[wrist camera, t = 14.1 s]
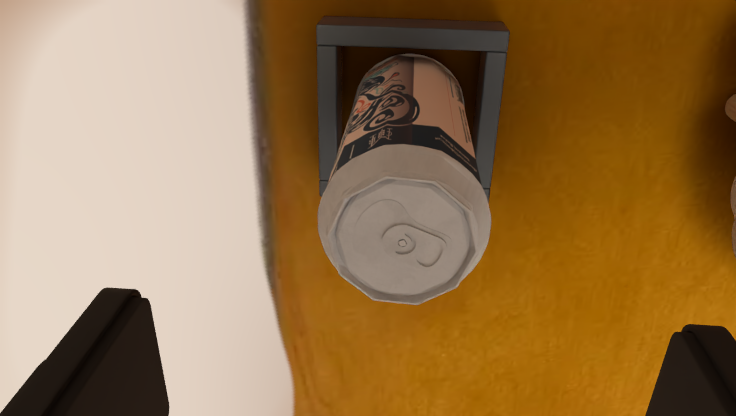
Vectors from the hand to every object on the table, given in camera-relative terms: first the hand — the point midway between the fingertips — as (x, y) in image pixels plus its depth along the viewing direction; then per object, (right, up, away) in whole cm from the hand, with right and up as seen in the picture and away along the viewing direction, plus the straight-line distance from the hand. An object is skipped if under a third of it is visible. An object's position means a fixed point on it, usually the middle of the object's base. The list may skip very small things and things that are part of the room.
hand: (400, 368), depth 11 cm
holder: (+1, +7, +15) cm, 17 cm away
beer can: (+1, +8, +16) cm, 17 cm away
